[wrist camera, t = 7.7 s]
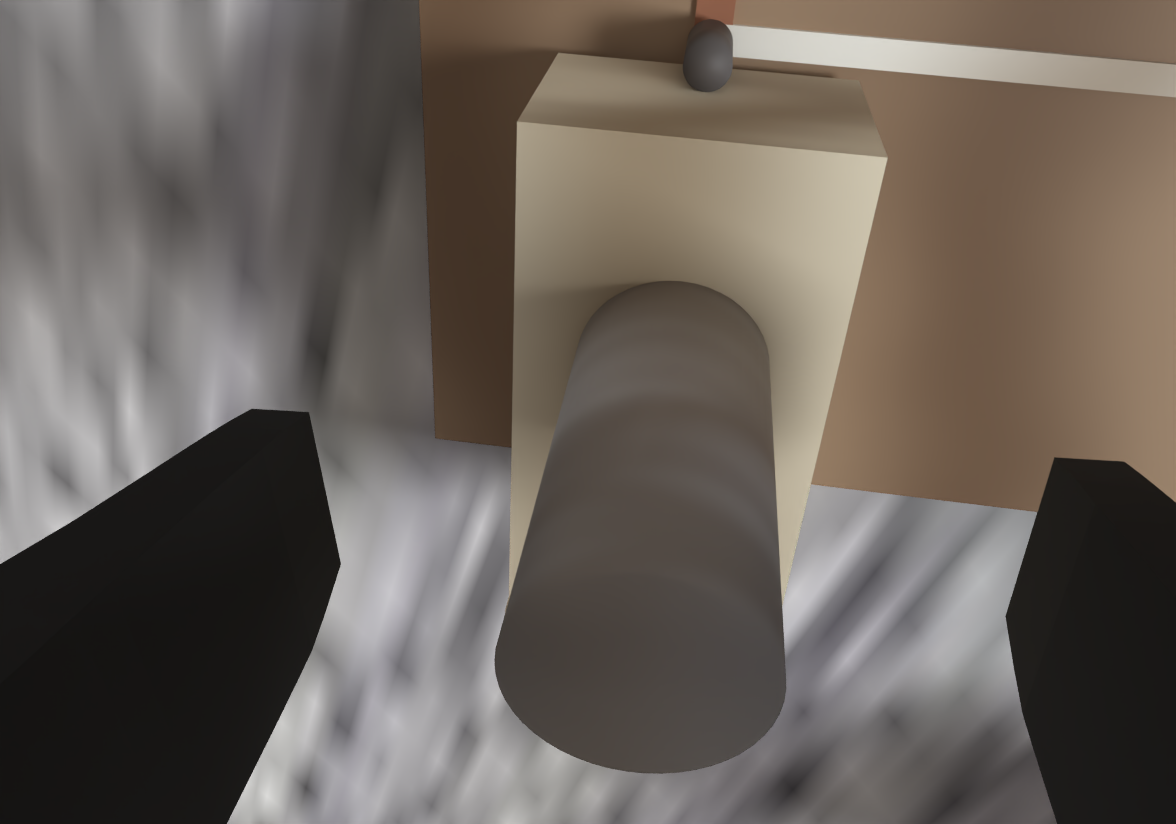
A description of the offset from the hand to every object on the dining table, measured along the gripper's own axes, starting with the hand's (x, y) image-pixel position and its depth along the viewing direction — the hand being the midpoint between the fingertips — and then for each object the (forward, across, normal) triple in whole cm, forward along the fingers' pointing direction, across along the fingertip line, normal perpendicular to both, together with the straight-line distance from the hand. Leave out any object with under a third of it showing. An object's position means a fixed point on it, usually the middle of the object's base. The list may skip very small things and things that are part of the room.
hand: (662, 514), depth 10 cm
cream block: (+8, 0, +1) cm, 8 cm away
